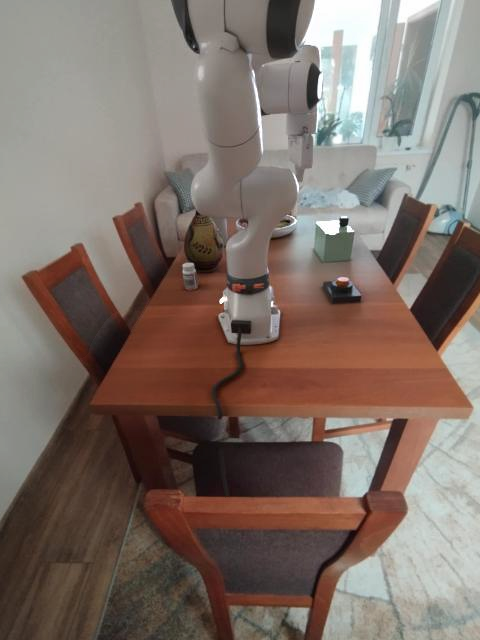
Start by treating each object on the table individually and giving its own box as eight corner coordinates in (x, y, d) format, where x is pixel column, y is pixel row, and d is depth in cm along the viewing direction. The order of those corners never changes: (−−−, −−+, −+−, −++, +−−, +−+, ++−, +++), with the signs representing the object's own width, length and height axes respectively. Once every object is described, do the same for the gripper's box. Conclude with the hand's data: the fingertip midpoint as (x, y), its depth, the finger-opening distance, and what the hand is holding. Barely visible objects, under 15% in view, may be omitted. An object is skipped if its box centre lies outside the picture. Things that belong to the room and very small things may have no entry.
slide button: (347, 225, 129) (349, 217, 127) (340, 226, 129) (341, 218, 127) (346, 224, 131) (347, 216, 129) (338, 224, 131) (339, 216, 129)
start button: (349, 286, 104) (350, 281, 103) (338, 287, 104) (339, 281, 103) (346, 281, 107) (346, 276, 106) (335, 282, 107) (335, 277, 106)
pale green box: (351, 262, 129) (356, 232, 122) (324, 264, 129) (327, 234, 122) (338, 247, 143) (342, 220, 136) (313, 248, 143) (316, 221, 136)
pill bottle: (192, 283, 120) (188, 261, 115) (201, 286, 118) (197, 263, 113) (182, 288, 117) (178, 265, 112) (191, 291, 115) (187, 268, 110)
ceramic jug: (225, 275, 125) (217, 186, 106) (185, 277, 125) (170, 189, 107) (226, 258, 138) (219, 177, 120) (190, 260, 139) (177, 180, 120)
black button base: (360, 301, 103) (362, 290, 101) (332, 304, 103) (333, 292, 101) (348, 285, 113) (350, 274, 110) (322, 287, 112) (323, 276, 110)
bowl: (304, 226, 170) (305, 209, 165) (281, 243, 150) (282, 225, 145) (252, 221, 182) (252, 205, 177) (225, 237, 162) (224, 220, 157)
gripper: (321, 127, 85) (316, 187, 94) (305, 124, 101) (302, 175, 110) (297, 129, 85) (294, 188, 94) (285, 125, 101) (284, 176, 110)
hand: (299, 181), depth 102 cm, fingers closed
